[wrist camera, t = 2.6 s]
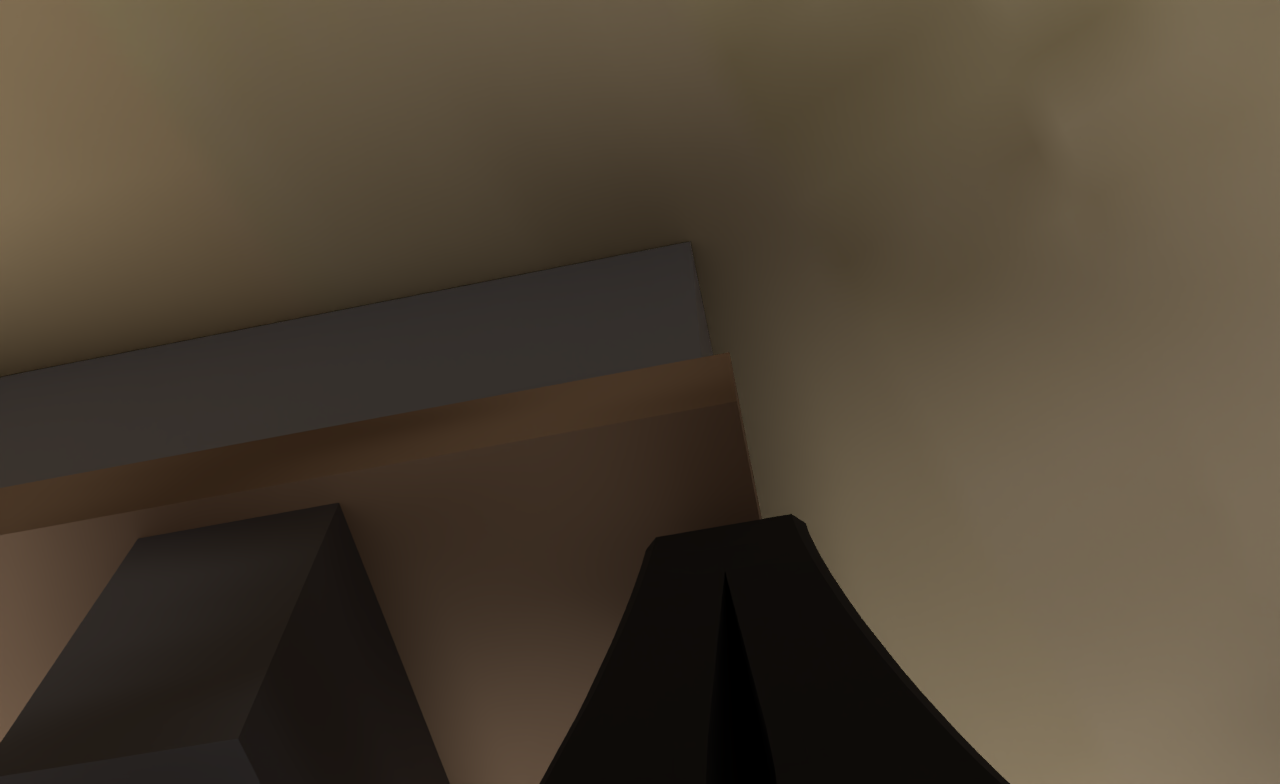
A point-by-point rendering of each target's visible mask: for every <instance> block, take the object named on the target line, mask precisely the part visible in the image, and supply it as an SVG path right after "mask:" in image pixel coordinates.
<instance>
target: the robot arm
mask: <svg viewBox="0 0 1280 784" xmlns="http://www.w3.org/2000/svg"><path fill="white" fill-rule="evenodd" d="M539 784H1010V783H1009V782H1008V781H1006V780H1005V779H1004V778H1003V777H1002V776H1001V775H1000V774H999V773H998V772H997V771H996V770H995V769H994V768H993V767H992V766H991V765H990V764H989V763H988V762H987V761H986V760H985V759H984V758H983V757H982V756H981V755H980V754H979V753H978V752H977V751H976V750H975V749H974V748H973V747H972V746H971V745H970V744H969V743H968V742H967V741H966V740H965V739H964V738H963V737H962V736H961V735H960V734H959V733H958V732H957V730H956V729H955V728H954V727H953V726H952V725H951V724H950V723H949V722H948V721H947V720H946V718H945V717H944V716H943V715H942V714H941V713H940V712H939V711H938V710H937V709H936V708H935V706H934V705H933V704H932V703H931V702H930V701H929V700H928V699H927V698H926V697H925V696H924V694H923V693H922V692H921V691H920V690H919V689H918V688H917V686H916V685H915V684H914V683H913V682H912V681H911V679H910V678H909V677H908V676H907V675H906V673H905V672H904V671H903V670H902V669H901V668H900V666H899V665H898V664H897V663H896V661H895V660H894V659H893V658H892V656H891V655H890V654H889V652H888V651H887V650H886V649H885V647H884V646H883V645H882V644H881V642H880V641H879V640H878V639H877V637H876V636H875V635H874V633H873V632H872V631H871V630H870V628H869V627H868V626H867V625H866V623H865V622H864V621H863V619H862V618H861V617H860V615H859V614H858V612H857V611H856V610H855V608H854V607H853V606H852V604H851V603H850V601H849V600H848V598H847V597H846V595H845V594H844V592H843V591H842V589H841V588H840V586H839V585H838V583H837V582H836V580H835V579H834V577H833V576H832V574H831V573H830V571H829V569H828V568H827V566H826V564H825V563H824V561H823V559H822V558H821V556H820V554H819V552H818V550H817V549H816V546H815V544H814V542H813V540H812V538H811V536H810V534H809V532H808V529H807V526H806V523H804V522H803V521H801V520H800V519H798V518H797V517H795V516H794V515H792V514H789V515H783V516H777V517H772V518H766V519H760V520H754V521H748V522H742V523H736V524H730V525H724V526H719V527H713V528H707V529H701V530H695V531H689V532H683V533H677V534H672V535H666V536H660V537H656V538H655V539H654V540H653V542H652V543H651V544H650V545H649V547H648V548H647V549H646V551H645V555H644V558H643V562H642V565H641V568H640V571H639V574H638V577H637V580H636V583H635V585H634V588H633V591H632V593H631V596H630V599H629V601H628V604H627V606H626V609H625V611H624V614H623V616H622V619H621V621H620V623H619V626H618V628H617V631H616V633H615V636H614V638H613V640H612V643H611V645H610V647H609V649H608V651H607V653H606V655H605V658H604V660H603V662H602V664H601V666H600V668H599V670H598V673H597V675H596V677H595V679H594V681H593V683H592V685H591V688H590V690H589V692H588V694H587V696H586V698H585V700H584V702H583V704H582V706H581V708H580V710H579V712H578V714H577V716H576V718H575V720H574V722H573V723H572V725H571V727H570V729H569V731H568V733H567V734H566V736H565V738H564V740H563V742H562V743H561V745H560V747H559V749H558V751H557V753H556V754H555V756H554V758H553V760H552V762H551V763H550V765H549V767H548V769H547V771H546V773H545V774H544V776H543V778H542V780H541V782H540V783H539Z"/></svg>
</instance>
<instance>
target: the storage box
mask: <svg viewBox="0 0 1280 784" xmlns="http://www.w3.org/2000/svg"><path fill="white" fill-rule="evenodd" d="M712 355H713V352H712V347H711V342H710V337H709V332H708V327H707V322H706V317H705V312H704V307H703V302H702V297H701V292H700V287H699V282H698V277H697V272H696V267H695V262H694V257H693V252H692V247H691V242H685V243H680V244H675V245H670V246H665V247H660V248H655V249H650V250H645V251H639V252H634V253H629V254H624V255H619V256H614V257H609V258H604V259H599V260H594V261H589V262H584V263H578V264H573V265H568V266H563V267H558V268H553V269H548V270H543V271H538V272H533V273H528V274H523V275H517V276H512V277H507V278H502V279H497V280H492V281H487V282H482V283H477V284H472V285H467V286H462V287H456V288H451V289H446V290H441V291H436V292H431V293H426V294H421V295H416V296H411V297H406V298H401V299H395V300H390V301H385V302H380V303H375V304H370V305H365V306H360V307H355V308H350V309H345V310H340V311H334V312H329V313H324V314H319V315H314V316H309V317H304V318H299V319H294V320H289V321H284V322H278V323H273V324H268V325H263V326H258V327H253V328H248V329H243V330H238V331H233V332H228V333H223V334H217V335H212V336H207V337H202V338H197V339H192V340H187V341H182V342H177V343H172V344H167V345H162V346H156V347H151V348H146V349H141V350H136V351H131V352H126V353H121V354H116V355H111V356H106V357H101V358H95V359H90V360H85V361H80V362H75V363H70V364H65V365H60V366H55V367H50V368H45V369H40V370H34V371H29V372H24V373H19V374H14V375H9V376H4V377H0V488H3V487H9V486H14V485H19V484H25V483H30V482H35V481H41V480H46V479H52V478H57V477H62V476H68V475H73V474H78V473H84V472H89V471H94V470H100V469H105V468H111V467H116V466H121V465H127V464H132V463H137V462H143V461H148V460H154V459H159V458H164V457H170V456H175V455H180V454H186V453H191V452H196V451H202V450H207V449H213V448H218V447H223V446H229V445H234V444H239V443H245V442H250V441H256V440H261V439H266V438H272V437H277V436H282V435H288V434H293V433H298V432H304V431H309V430H315V429H320V428H325V427H331V426H336V425H341V424H347V423H352V422H358V421H363V420H368V419H374V418H379V417H384V416H390V415H395V414H400V413H406V412H411V411H417V410H422V409H427V408H433V407H438V406H443V405H449V404H454V403H460V402H465V401H470V400H476V399H481V398H486V397H492V396H497V395H502V394H508V393H513V392H519V391H524V390H529V389H535V388H540V387H545V386H551V385H556V384H562V383H567V382H572V381H578V380H583V379H588V378H594V377H599V376H604V375H610V374H615V373H621V372H626V371H631V370H637V369H642V368H647V367H653V366H658V365H663V364H669V363H674V362H680V361H685V360H690V359H696V358H701V357H706V356H712Z"/></svg>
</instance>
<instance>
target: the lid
mask: <svg viewBox="0 0 1280 784" xmlns="http://www.w3.org/2000/svg"><path fill="white" fill-rule="evenodd" d="M760 519H762V518H761V513H760V508H759V503H758V497H757V492H756V487H755V482H754V477H753V472H752V466H751V461H750V456H749V451H748V446H747V441H746V435H745V430H744V425H743V420H742V415H741V410H740V404H739V399H738V394H737V389H736V384H735V379H734V373H733V368H732V363H731V358H730V353H729V352H728V353H723V354H717V355H712V356H706V357H701V358H696V359H690V360H685V361H680V362H674V363H669V364H663V365H658V366H653V367H647V368H642V369H637V370H631V371H626V372H621V373H615V374H610V375H604V376H599V377H594V378H588V379H583V380H578V381H572V382H567V383H562V384H556V385H551V386H545V387H540V388H535V389H529V390H524V391H519V392H513V393H508V394H502V395H497V396H492V397H486V398H481V399H476V400H470V401H465V402H460V403H454V404H449V405H443V406H438V407H433V408H427V409H422V410H417V411H411V412H406V413H400V414H395V415H390V416H384V417H379V418H374V419H368V420H363V421H358V422H352V423H347V424H341V425H336V426H331V427H325V428H320V429H315V430H309V431H304V432H298V433H293V434H288V435H282V436H277V437H272V438H266V439H261V440H256V441H250V442H245V443H239V444H234V445H229V446H223V447H218V448H213V449H207V450H202V451H196V452H191V453H186V454H180V455H175V456H170V457H164V458H159V459H154V460H148V461H143V462H137V463H132V464H127V465H121V466H116V467H111V468H105V469H100V470H94V471H89V472H84V473H78V474H73V475H68V476H62V477H57V478H52V479H46V480H41V481H35V482H30V483H25V484H19V485H14V486H9V487H3V488H0V784H539V783H540V782H541V780H542V778H543V776H544V774H545V773H546V771H547V769H548V767H549V765H550V763H551V762H552V760H553V758H554V756H555V754H556V753H557V751H558V749H559V747H560V745H561V743H562V742H563V740H564V738H565V736H566V734H567V733H568V731H569V729H570V727H571V725H572V723H573V722H574V720H575V718H576V716H577V714H578V712H579V710H580V708H581V706H582V704H583V702H584V700H585V698H586V696H587V694H588V692H589V690H590V688H591V685H592V683H593V681H594V679H595V677H596V675H597V673H598V670H599V668H600V666H601V664H602V662H603V660H604V658H605V655H606V653H607V651H608V649H609V647H610V645H611V643H612V640H613V638H614V636H615V633H616V631H617V628H618V626H619V623H620V621H621V619H622V616H623V614H624V611H625V609H626V606H627V604H628V601H629V599H630V596H631V593H632V591H633V588H634V585H635V583H636V580H637V577H638V574H639V571H640V568H641V565H642V562H643V558H644V555H645V551H646V549H647V548H648V547H649V545H650V544H651V543H652V542H653V540H654V539H655V538H656V537H660V536H666V535H672V534H677V533H683V532H689V531H695V530H701V529H707V528H713V527H719V526H724V525H730V524H736V523H742V522H748V521H754V520H760Z"/></svg>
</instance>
